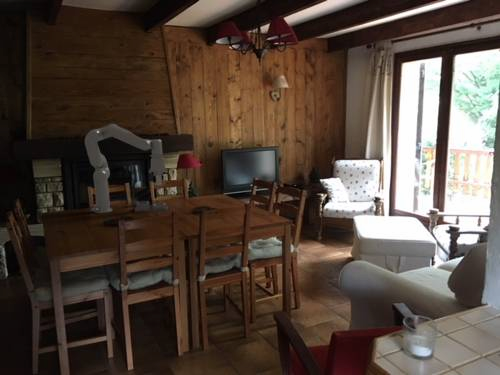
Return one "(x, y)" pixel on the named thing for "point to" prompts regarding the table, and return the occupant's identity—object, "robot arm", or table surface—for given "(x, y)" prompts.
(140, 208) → the socket panel
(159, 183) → the plug
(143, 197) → the magazine
